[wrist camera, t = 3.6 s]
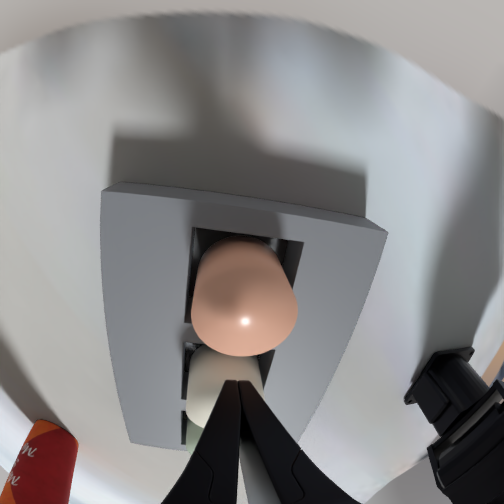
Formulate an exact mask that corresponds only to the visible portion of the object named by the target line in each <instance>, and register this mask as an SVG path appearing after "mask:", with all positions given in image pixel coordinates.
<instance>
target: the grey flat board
mask: <svg viewBox="0 0 504 504" xmlns="http://www.w3.org/2000/svg"><path fill="white" fill-rule="evenodd" d="M195 227H197V228H204V229H212V230H220V231H228V232H235V233H243V234H250V235H258V236H265V237H272V238H279V239H286V240H288V244H287V249H286V253H285V257H284V262H283V266H282V268H283V270H284V273H285V275H286V277H287V279H288V282H289V284H290V286H291V288H292V291H293V293H294V295H295V297H296V301H297V305H298V315H297V320H296V323H295V326H294V328H293V329H292V331H291V333H290V334H289V335H288V337H287V338H286V339H285V340H284V341H283V342H282V343H280V344H279V345H278V346H276V347H275V348H273V349H271V350H269V351H267V352H264V353H261V355H260V359H259V369H260V375H261V381H262V387H263V392H264V398H265V402H266V404H267V405H268V406H269V408H270V409H271V410H272V412H273V413H274V414H275V416H276V417H277V418H278V420H279V421H280V422H281V423H282V425H283V426H284V427H285V429H286V430H287V431H288V432H289V434H290V435H291V436H292V438H293V439H294V440H295V441H296V443H298V441H299V439H300V438H301V436H302V434H303V432H304V431H305V429H306V427H307V425H308V424H309V422H310V420H311V418H312V416H313V415H314V413H315V411H316V409H317V407H318V405H319V403H320V401H321V399H322V398H323V396H324V394H325V392H326V390H327V388H328V386H329V384H330V382H331V380H332V378H333V375H334V373H335V371H336V369H337V367H338V365H339V363H340V361H341V358H342V356H343V354H344V352H345V349H346V347H347V345H348V343H349V340H350V338H351V336H352V333H353V331H354V329H355V326H356V324H357V321H358V319H359V316H360V314H361V311H362V309H363V306H364V303H365V301H366V298H367V295H368V293H369V290H370V287H371V284H372V282H373V279H374V276H375V273H376V270H377V267H378V264H379V261H380V258H381V255H382V252H383V249H384V245H385V242H386V239H387V235H388V232H387V231H386V230H384V229H383V228H381V227H379V226H378V225H376V224H375V223H373V222H371V221H370V220H368V219H367V218H363V217H359V216H354V215H349V214H344V213H339V212H333V211H328V210H323V209H317V208H312V207H306V206H301V205H295V204H289V203H283V202H277V201H271V200H265V199H258V198H252V197H245V196H238V195H231V194H224V193H217V192H209V191H201V190H193V189H185V188H177V187H168V186H158V185H149V184H138V183H127V182H119V183H117V184H115V185H113V186H111V187H108V188H106V189H104V190H102V191H101V214H100V245H101V272H102V287H103V300H104V310H105V319H106V327H107V335H108V342H109V349H110V355H111V361H112V367H113V372H114V377H115V382H116V387H117V392H118V396H119V401H120V405H121V409H122V413H123V417H124V421H125V425H126V429H127V432H128V436H129V439H130V442H131V443H135V444H140V445H146V446H152V447H158V448H165V449H172V450H180V451H187V449H186V434H187V420H183V411H186V401H187V389H188V378H189V372H184V363H185V343H186V342H190V343H199V344H205V343H204V342H203V341H202V340H201V339H200V338H199V336H198V335H197V333H196V332H195V330H194V327H193V324H192V319H191V309H192V302H193V297H189V286H190V275H191V264H192V254H193V245H194V235H195Z"/></svg>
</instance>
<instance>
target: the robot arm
mask: <svg viewBox="0 0 504 504" xmlns="http://www.w3.org/2000/svg"><path fill="white" fill-rule="evenodd" d="M474 351H475V350H474V349H473V348H472V347H469V348H463V349H456V350H449V351H441V352H436V353H435V354H434V355H433V356H432V358H431V359H430V361H429V363H428V364H427V366H426V368H425V369H424V371H423V373H422V374H421V376H420V377H419V379H418V380H417V382H416V384H415V385H414V387H413V388H412V390H411V391H410V392H409V394H408V395H407V397H406V398H405V400H404V402H405V404H406V405H409V404H414V403H417V404H418V405H419V407H420V408H421V410H422V412H423V413H424V415H425V417H426V418H427V420H428V422H429V423H430V424H433V426H434V428H435V429H436V431H437V433H438V434H439V436H440V437H441V436H442V437H441V438H440V439H438V440H437V441H436V442H435V443H434V444H431V445H430V446H429V447H427V451H428V454H429V459H430V463H431V466H432V469H433V473H434V477H435V481H436V485H437V487H438V488H439V489H440V490H441V491H442V493H443V494H445V495H446V496H447V497H449V499H450V500H451V502H452V503H453V504H504V401H503V403H502V404H500V403H499V402H500V401H501V399H502V398H503V399H504V382H502V381H500V380H498V379H496V381H495V382H494V383H493V385H492V387H491V388H489V387H488V386H487V385H486V383H485V382H484V381H483V380H482V378H481V377H480V376H479V375H478V374H477V373H476V371H475V370H474V369H473V368H472V367H471V366H470V364H469V363H468V362H469V360H470V358H471V357H472V355H473V353H474ZM239 458H240V463H241V469H242V474H243V479H244V484H245V489H246V494H247V499H248V503H249V504H361V503H360V502H358V501H356V500H354V499H353V498H352V497H350V496H349V495H348V494H347V493H345V492H344V491H343V490H342V489H341V488H340V487H338V486H337V485H336V484H335V483H334V482H333V481H332V480H330V479H329V478H328V477H327V476H326V475H325V474H324V473H323V472H322V471H321V470H320V469H319V468H318V467H317V466H316V465H315V464H314V463H313V462H312V461H311V460H310V458H309V457H308V456H307V455H306V454H305V452H304V451H303V450H301V448H300V446H299V445H298V444H297V443H296V441H295V440H294V439H293V438H292V436H291V435H290V434H289V432H288V431H287V430H286V429H285V427H284V426H283V425H282V423H281V422H280V421H279V420H278V418H277V417H276V416H275V414H274V413H273V412H272V410H271V409H270V408H269V406H268V405H267V404H266V402H265V401H264V399H263V398H262V397H261V395H260V394H259V393H258V391H257V390H256V388H255V387H254V386H253V384H252V383H251V382H250V381H249V380H239V381H237V380H228V379H227V380H225V382H224V384H223V386H222V389H221V391H220V393H219V396H218V398H217V400H216V402H215V405H214V407H213V409H212V411H211V414H210V416H209V418H208V420H207V423H206V425H205V427H204V429H203V432H202V434H201V436H200V438H199V440H198V443H197V445H196V447H195V449H194V451H193V453H192V455H191V458H190V460H189V462H188V464H187V465H186V467H185V469H184V471H183V473H182V474H181V476H180V477H179V479H178V481H177V482H176V484H175V485H174V486H173V488H172V489H171V491H170V492H169V493H168V495H167V496H166V497H165V499H164V500H163V502H162V503H161V504H236V503H237V485H238V467H239Z"/></svg>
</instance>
